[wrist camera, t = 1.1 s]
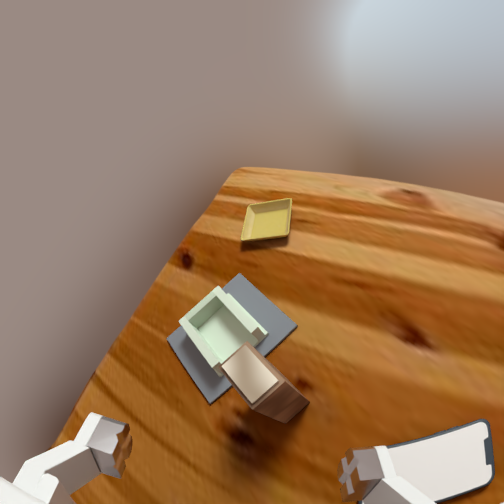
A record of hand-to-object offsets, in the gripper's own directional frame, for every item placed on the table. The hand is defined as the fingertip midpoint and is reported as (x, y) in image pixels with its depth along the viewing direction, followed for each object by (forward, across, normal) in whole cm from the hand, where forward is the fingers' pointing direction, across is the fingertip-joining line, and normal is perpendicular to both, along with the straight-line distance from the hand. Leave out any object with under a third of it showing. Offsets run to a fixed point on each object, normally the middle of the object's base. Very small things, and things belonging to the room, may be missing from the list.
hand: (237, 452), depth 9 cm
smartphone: (+9, -22, +18) cm, 30 cm away
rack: (+32, +2, +16) cm, 35 cm away
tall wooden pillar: (+22, -6, +18) cm, 29 cm away
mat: (+32, +2, +16) cm, 36 cm away
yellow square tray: (+48, -3, +3) cm, 48 cm away
